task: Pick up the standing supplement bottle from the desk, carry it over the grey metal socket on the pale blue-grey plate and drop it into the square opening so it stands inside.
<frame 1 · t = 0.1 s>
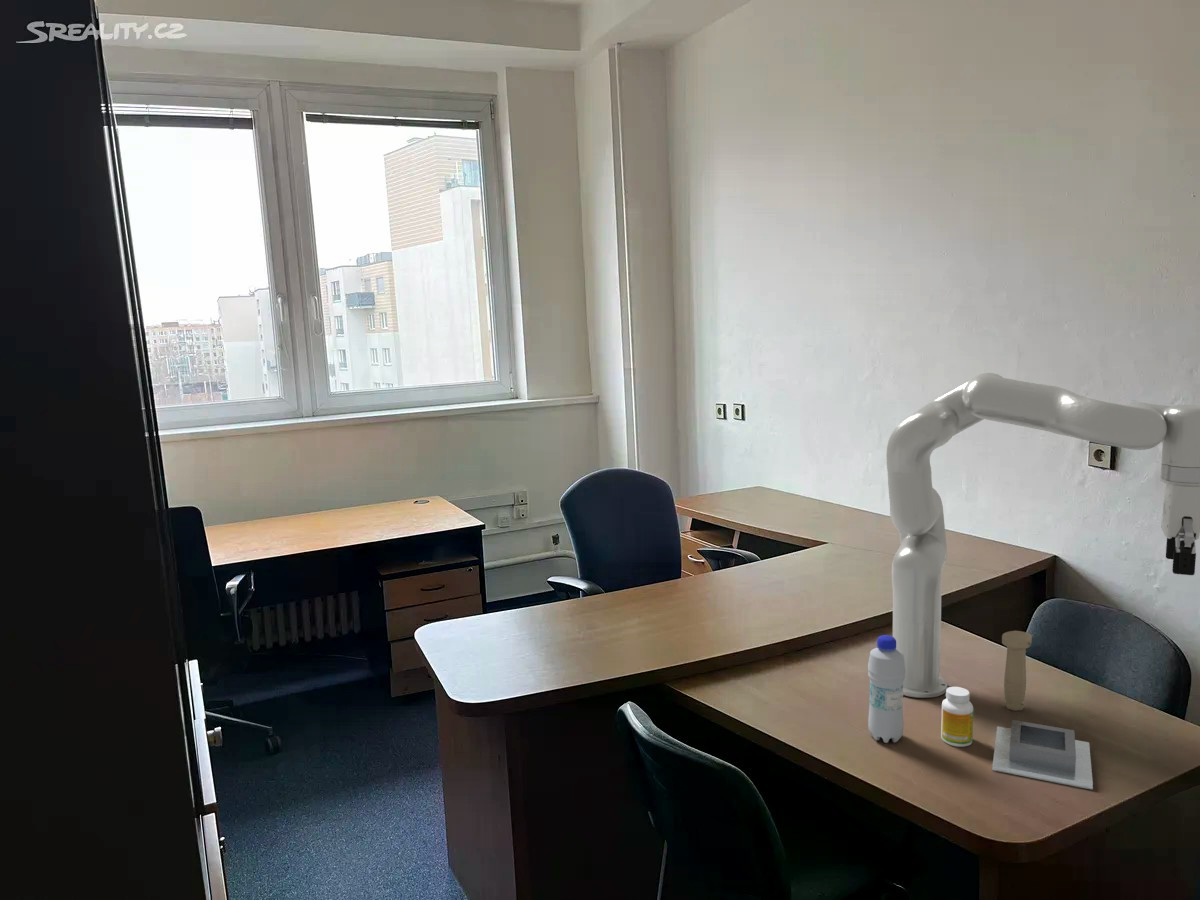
hand: (1179, 566, 153), 31 cm above the table, tool pointing down, fingers open, 9 cm apart
handle: (1014, 708, 167), on the table
socket: (1041, 758, 148), on the table
supplement bottle: (956, 741, 156), on the table
bottle: (885, 738, 158), on the table
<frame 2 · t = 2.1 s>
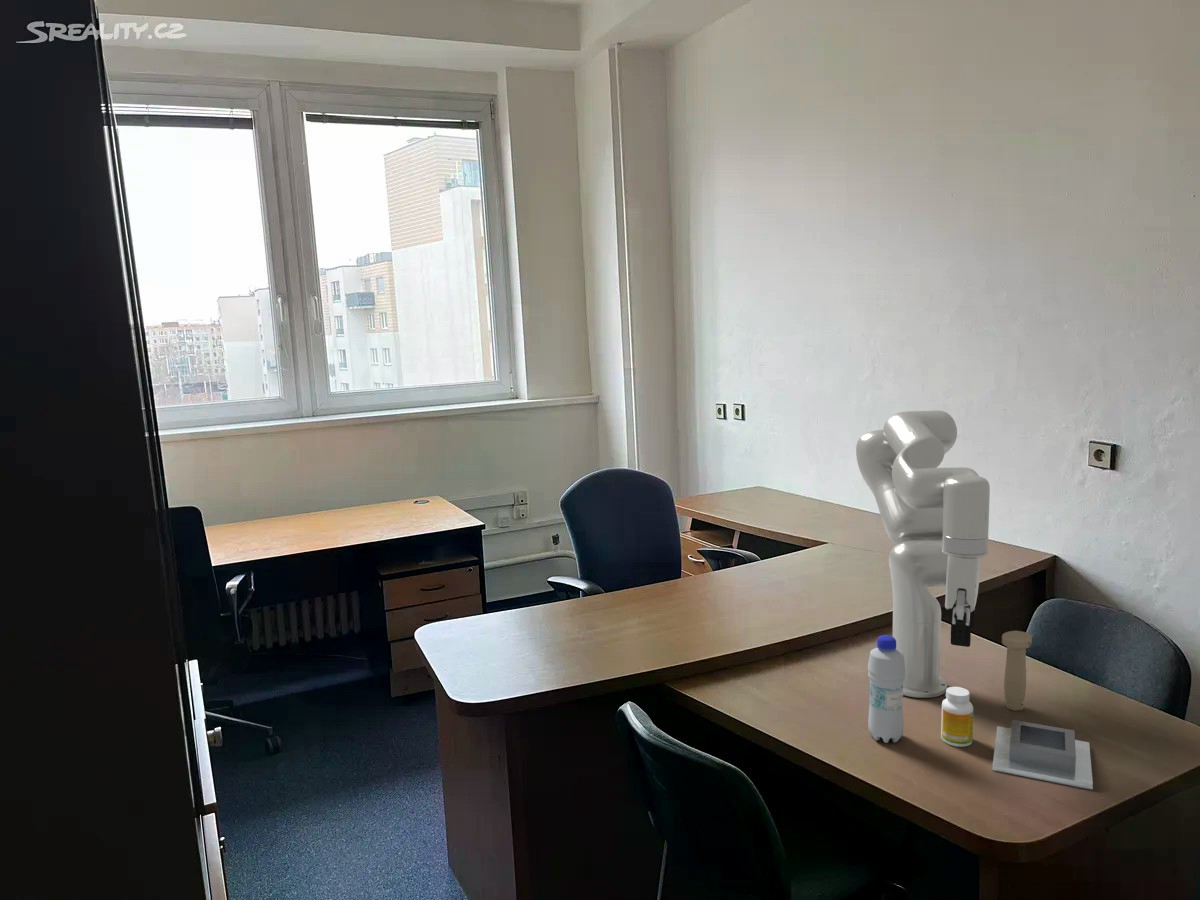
hand: (962, 635, 152), 20 cm above the table, tool pointing down, fingers open, 9 cm apart
nothing on the table moved.
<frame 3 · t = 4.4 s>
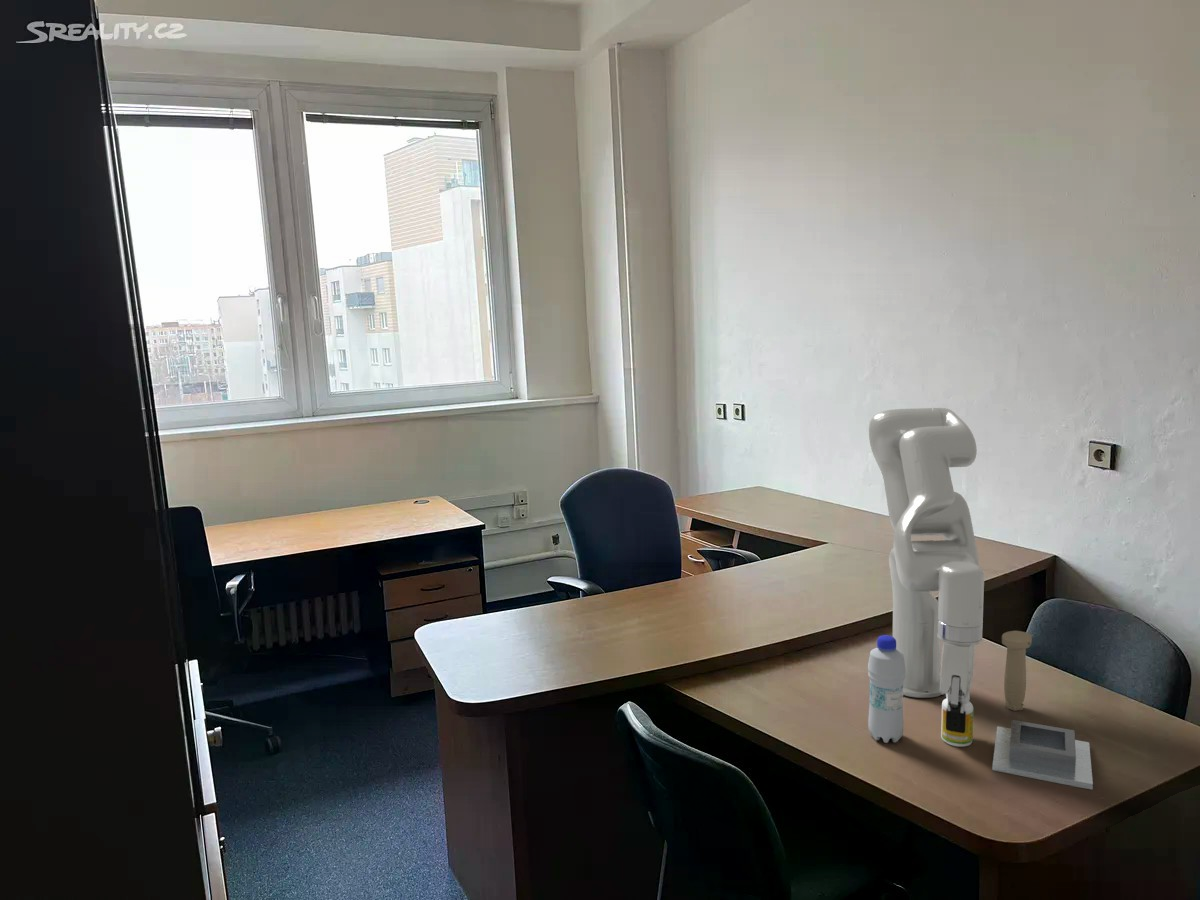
hand: (957, 722, 155), 4 cm above the table, tool pointing down, fingers closed on supplement bottle, 5 cm apart
supplement bottle: (956, 741, 156), on the table, touching gripper
everything else where it was.
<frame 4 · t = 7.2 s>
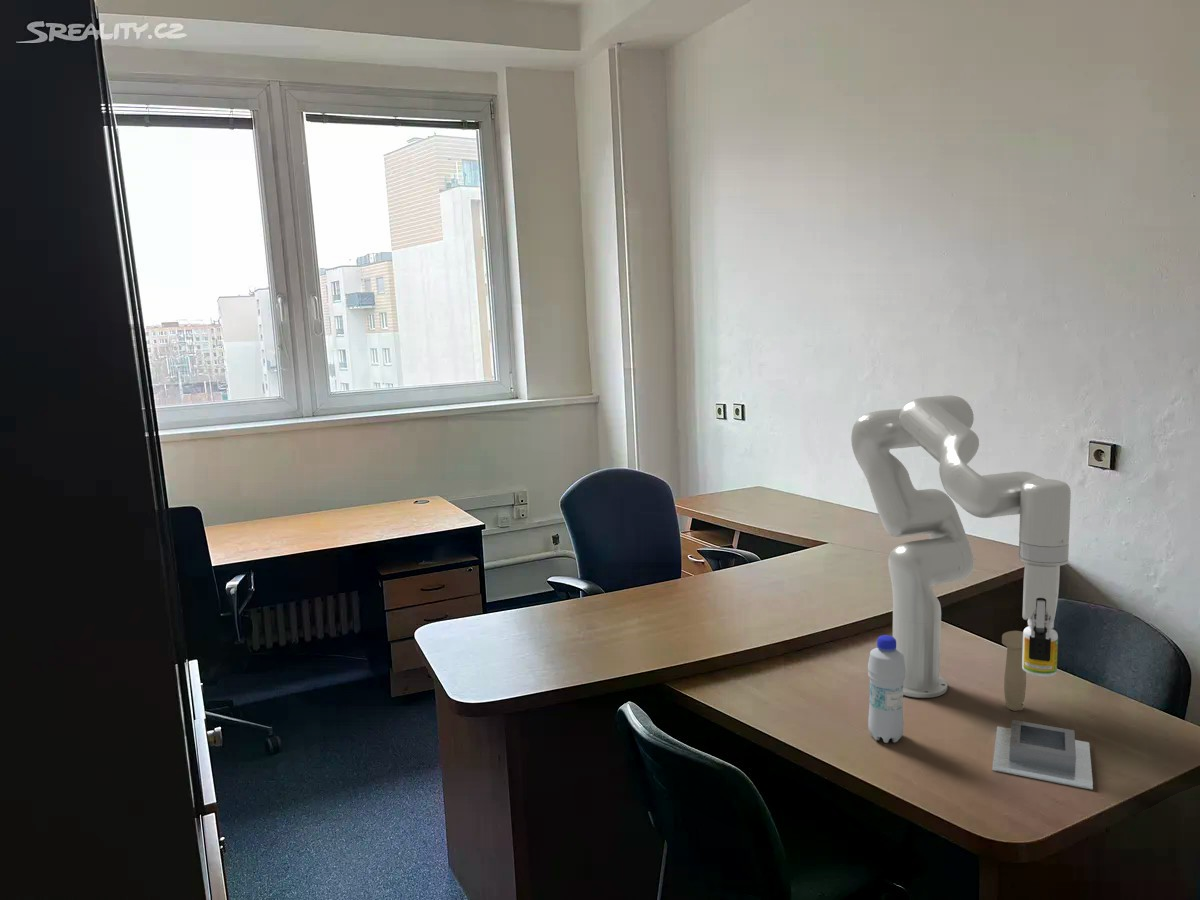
hand: (1040, 652, 145), 20 cm above the table, tool pointing down, fingers closed on supplement bottle, 5 cm apart
supplement bottle: (1039, 672, 146), point 16 cm above the table, touching gripper
everything else where it was.
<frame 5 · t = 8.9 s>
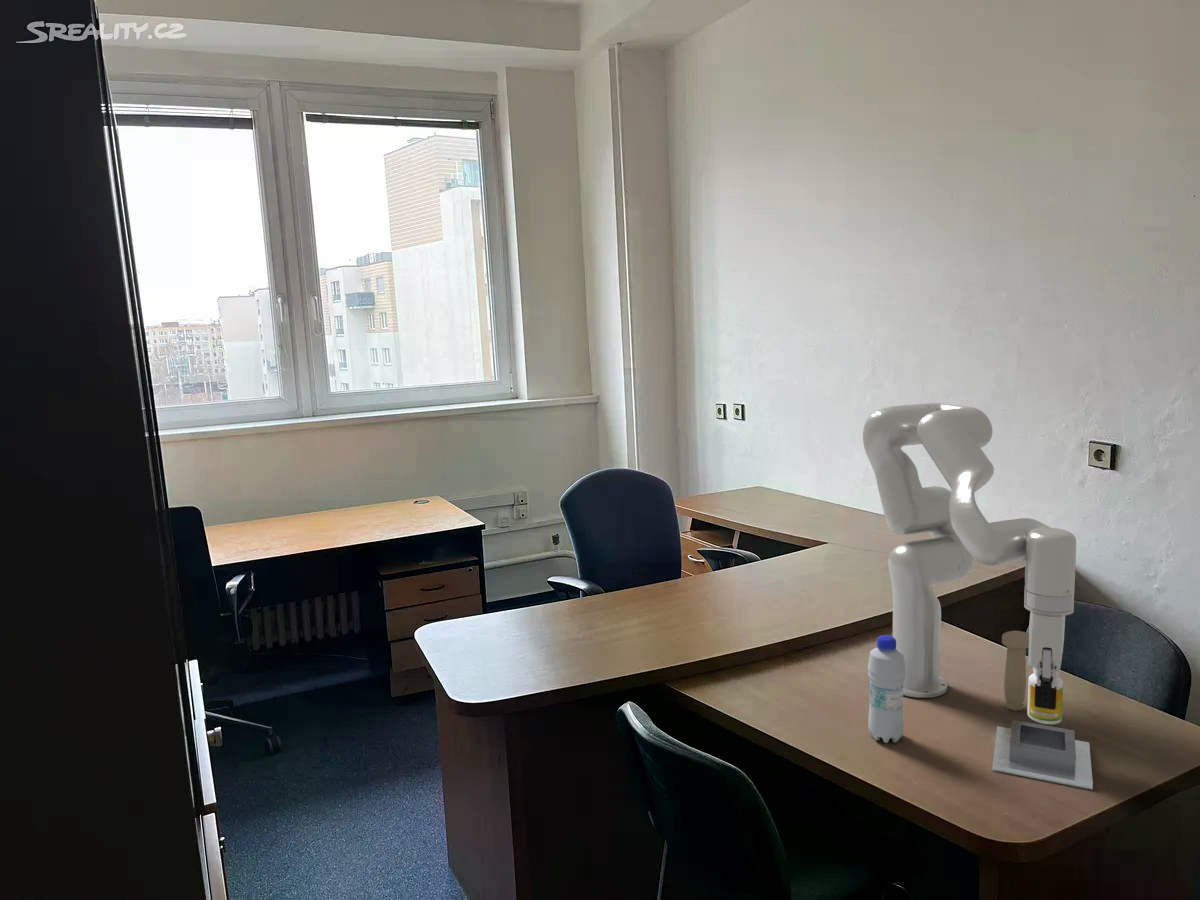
hand: (1045, 699, 146), 11 cm above the table, tool pointing down, fingers closed on supplement bottle, 5 cm apart
supplement bottle: (1044, 718, 147), point 8 cm above the table, touching gripper
everything else where it was.
when the fingers open (5 cm above the table, at t = 10.4 s): supplement bottle stays where it is, resting on socket.
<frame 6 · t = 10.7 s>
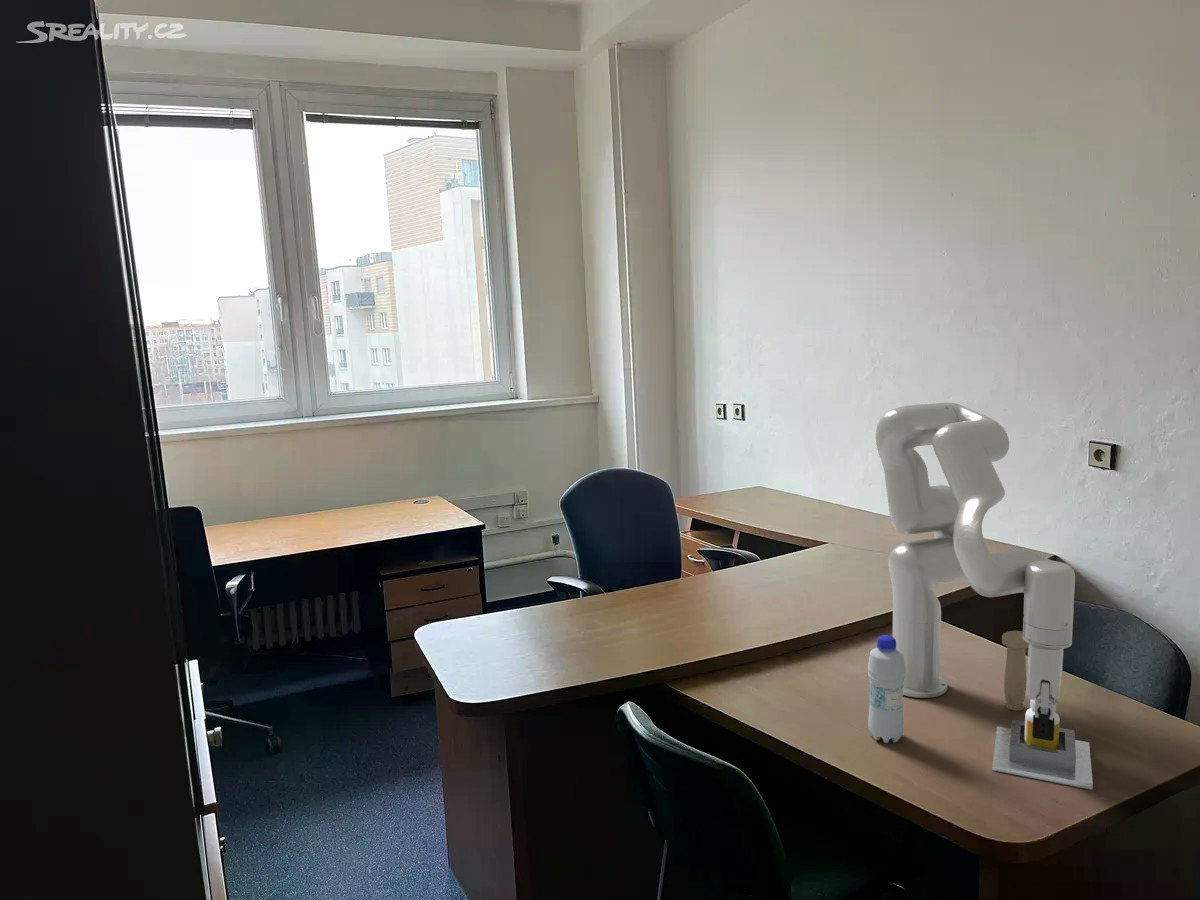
hand: (1043, 727, 147), 6 cm above the table, tool pointing down, fingers open, 8 cm apart
supplement bottle: (1040, 753, 148), point 1 cm above the table, touching socket
everything else where it was.
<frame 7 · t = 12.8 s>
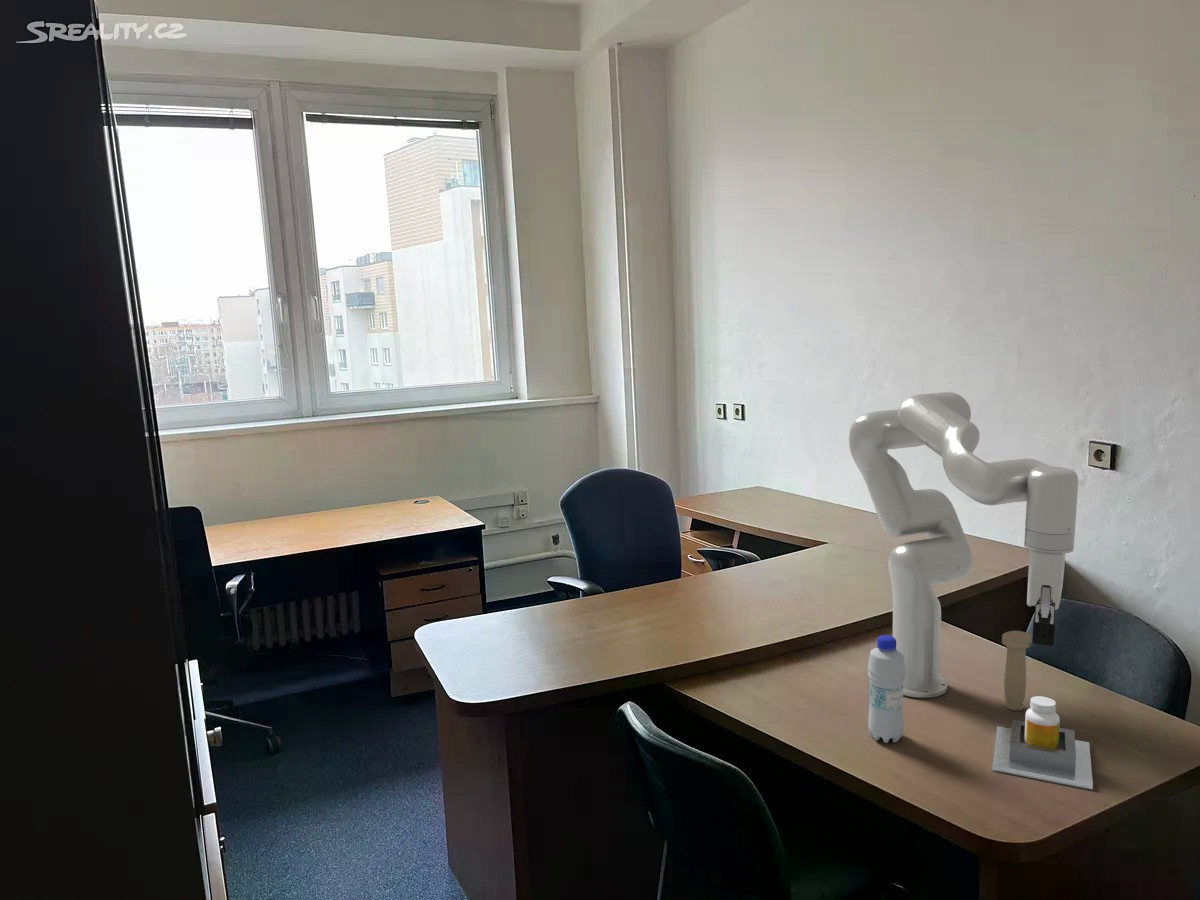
hand: (1043, 634, 146), 23 cm above the table, tool pointing down, fingers open, 9 cm apart
nothing on the table moved.
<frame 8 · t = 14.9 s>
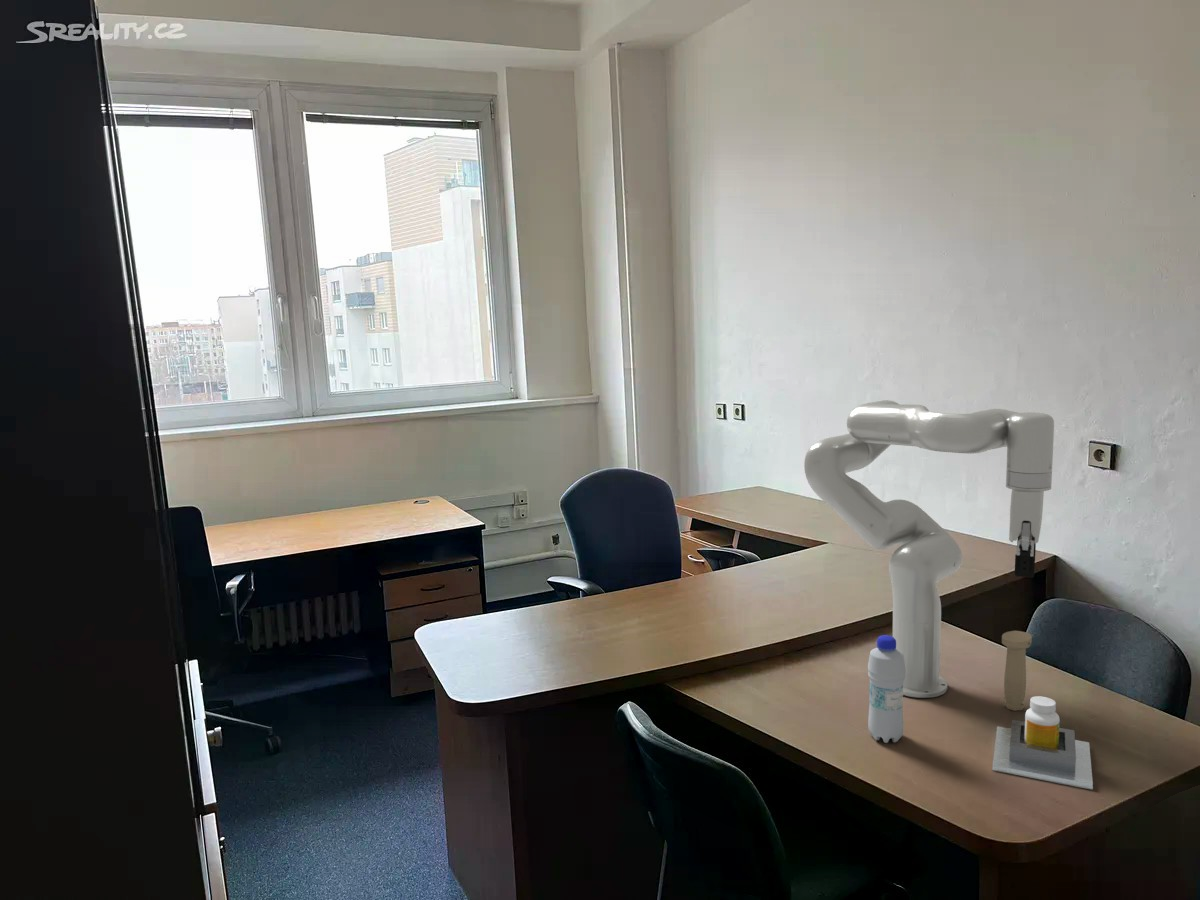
hand: (1025, 569, 157), 30 cm above the table, tool pointing down, fingers open, 9 cm apart
nothing on the table moved.
at the end: supplement bottle 0.3 cm off-centre on the socket, point 0.8 cm above the socket's base; supplement bottle tilted 0°; the gripper is holding nothing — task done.
